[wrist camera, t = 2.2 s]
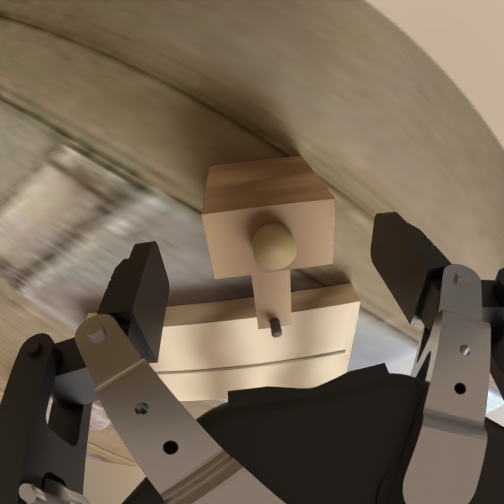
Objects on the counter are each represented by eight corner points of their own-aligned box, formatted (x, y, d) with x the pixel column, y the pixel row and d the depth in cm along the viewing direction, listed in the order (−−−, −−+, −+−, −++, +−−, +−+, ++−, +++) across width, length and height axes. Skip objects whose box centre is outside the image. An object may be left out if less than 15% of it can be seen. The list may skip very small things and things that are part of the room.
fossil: (89, 412, 23) (118, 445, 29) (95, 377, 27) (120, 416, 33) (-1, 396, 22) (38, 432, 28) (9, 366, 25) (44, 406, 31)
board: (351, 282, 21) (360, 301, 20) (338, 364, 27) (344, 381, 25) (88, 313, 21) (80, 332, 20) (132, 384, 27) (129, 401, 25)
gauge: (300, 155, 16) (342, 207, 11) (303, 283, 21) (328, 362, 16) (209, 166, 16) (199, 225, 11) (231, 293, 21) (235, 375, 15)
